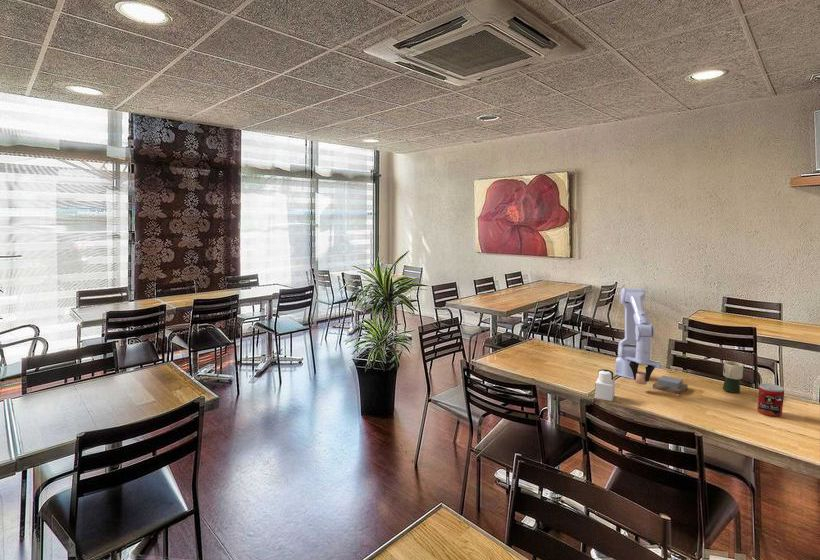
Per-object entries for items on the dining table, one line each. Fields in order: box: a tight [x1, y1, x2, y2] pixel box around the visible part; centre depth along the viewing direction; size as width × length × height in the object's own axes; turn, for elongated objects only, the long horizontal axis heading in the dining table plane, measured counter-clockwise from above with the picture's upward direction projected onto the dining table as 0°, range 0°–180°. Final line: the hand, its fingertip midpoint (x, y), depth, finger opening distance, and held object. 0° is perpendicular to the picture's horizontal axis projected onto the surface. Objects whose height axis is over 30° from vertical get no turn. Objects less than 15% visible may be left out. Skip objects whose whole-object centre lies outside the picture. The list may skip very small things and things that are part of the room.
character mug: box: [722, 360, 744, 393], centre depth 197 cm, size 11×7×13 cm, turn 129°
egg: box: [635, 371, 648, 386], centre depth 198 cm, size 4×4×4 cm
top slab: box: [657, 374, 684, 389], centre depth 202 cm, size 8×8×2 cm
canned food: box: [756, 383, 785, 418], centre depth 174 cm, size 8×8×11 cm
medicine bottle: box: [594, 368, 616, 402], centre depth 192 cm, size 7×7×12 cm
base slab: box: [652, 380, 689, 396], centre depth 202 cm, size 11×11×2 cm
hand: (641, 379), depth 199 cm, fingers closed on egg, 4 cm apart
